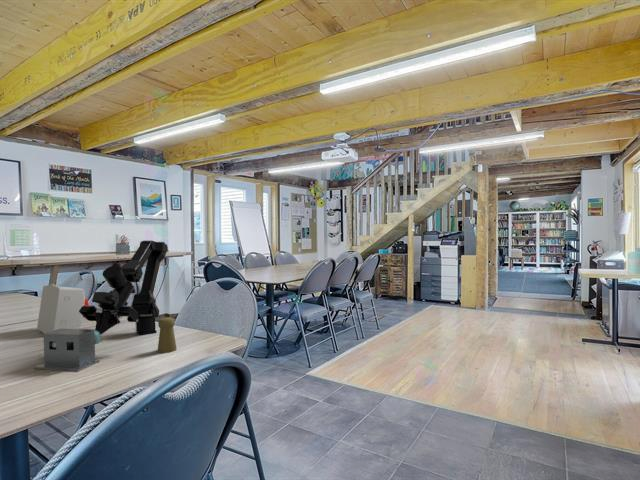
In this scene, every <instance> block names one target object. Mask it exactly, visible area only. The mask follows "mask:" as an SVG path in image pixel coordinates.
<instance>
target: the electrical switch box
mask: <svg viewBox="0 0 640 480" xmlns="http://www.w3.org/2000/svg"><path fill="white" fill-rule="evenodd" d="M82 306H90V305H89V302H88V299H86V295H85V290H84V288H79V287H72V286H58V285H56V284H53V283H51V284H48V285H46V284H45V285H43V286H42V293H41V299H40V305H39V312H38V319H37V320H38V321H37V326H36V329H37V330H38V331H40V332H41V333H43V334H44V333H47V332H51V331H54V330H58V329H80V327H81V325H82V324H83V319H85V317H84V316H83V315H82V314H81V313H80V312H79V310H80V309H81V307H82Z"/></svg>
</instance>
